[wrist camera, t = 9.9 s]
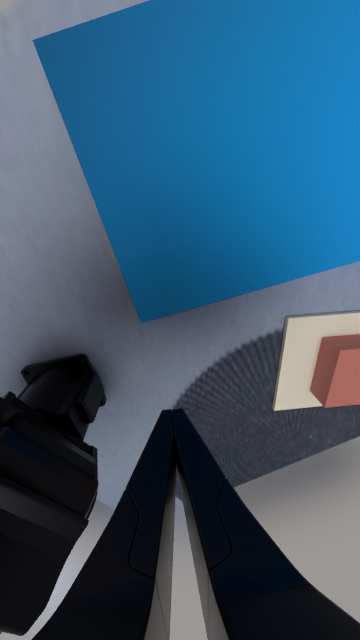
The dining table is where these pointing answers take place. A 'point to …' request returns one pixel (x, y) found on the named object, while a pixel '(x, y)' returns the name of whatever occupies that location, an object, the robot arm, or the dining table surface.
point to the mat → (306, 354)
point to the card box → (337, 371)
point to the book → (216, 141)
